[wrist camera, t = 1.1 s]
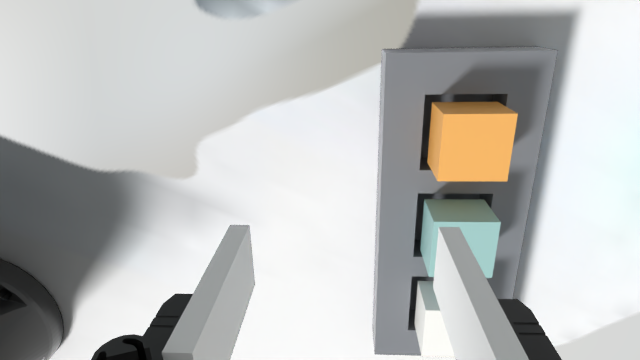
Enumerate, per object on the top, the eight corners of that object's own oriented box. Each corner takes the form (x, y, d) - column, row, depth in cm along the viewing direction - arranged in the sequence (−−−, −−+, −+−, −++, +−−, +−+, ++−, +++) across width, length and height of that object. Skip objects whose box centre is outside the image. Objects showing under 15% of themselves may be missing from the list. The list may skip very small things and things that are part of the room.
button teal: (420, 249, 36) (428, 276, 33) (424, 199, 35) (433, 221, 31) (477, 250, 36) (492, 277, 32) (483, 199, 34) (500, 222, 31)
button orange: (427, 162, 33) (437, 181, 30) (432, 102, 32) (443, 114, 28) (489, 162, 33) (507, 181, 29) (497, 101, 31) (517, 113, 28)
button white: (414, 323, 39) (421, 356, 36) (417, 280, 38) (425, 310, 34) (466, 325, 39) (479, 358, 35) (472, 281, 37) (486, 311, 34)
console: (372, 328, 44) (374, 354, 41) (381, 49, 33) (385, 53, 30) (490, 331, 43) (501, 357, 40) (536, 46, 33) (557, 50, 30)
